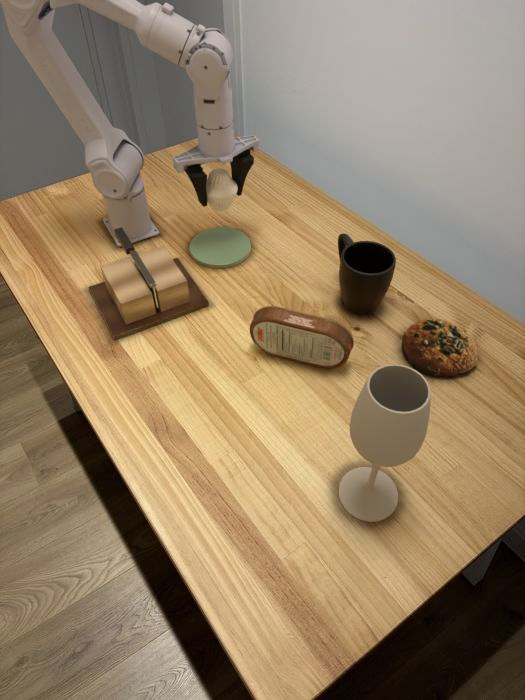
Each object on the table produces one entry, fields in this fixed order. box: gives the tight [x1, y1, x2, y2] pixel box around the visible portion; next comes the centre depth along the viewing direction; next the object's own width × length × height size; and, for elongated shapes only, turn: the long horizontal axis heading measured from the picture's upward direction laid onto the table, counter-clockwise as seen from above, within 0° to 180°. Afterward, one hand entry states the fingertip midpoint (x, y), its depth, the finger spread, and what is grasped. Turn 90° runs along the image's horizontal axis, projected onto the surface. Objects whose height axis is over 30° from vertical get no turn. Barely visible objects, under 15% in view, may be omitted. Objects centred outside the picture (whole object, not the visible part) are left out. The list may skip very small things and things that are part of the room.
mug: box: [337, 232, 397, 316], centre depth 87 cm, size 8×12×10 cm
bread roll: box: [401, 318, 479, 377], centre depth 82 cm, size 11×11×5 cm
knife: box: [114, 227, 159, 309], centre depth 90 cm, size 16×1×5 cm, turn 29°
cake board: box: [87, 245, 210, 341], centre depth 89 cm, size 13×16×5 cm
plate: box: [188, 226, 252, 269], centre depth 99 cm, size 11×11×1 cm
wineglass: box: [338, 363, 432, 523], centre depth 60 cm, size 8×8×21 cm
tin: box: [249, 305, 355, 369], centre depth 79 cm, size 15×3×8 cm, turn 71°
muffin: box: [206, 167, 238, 212], centre depth 94 cm, size 6×6×7 cm
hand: (220, 198), depth 95 cm, fingers closed on muffin, 6 cm apart
